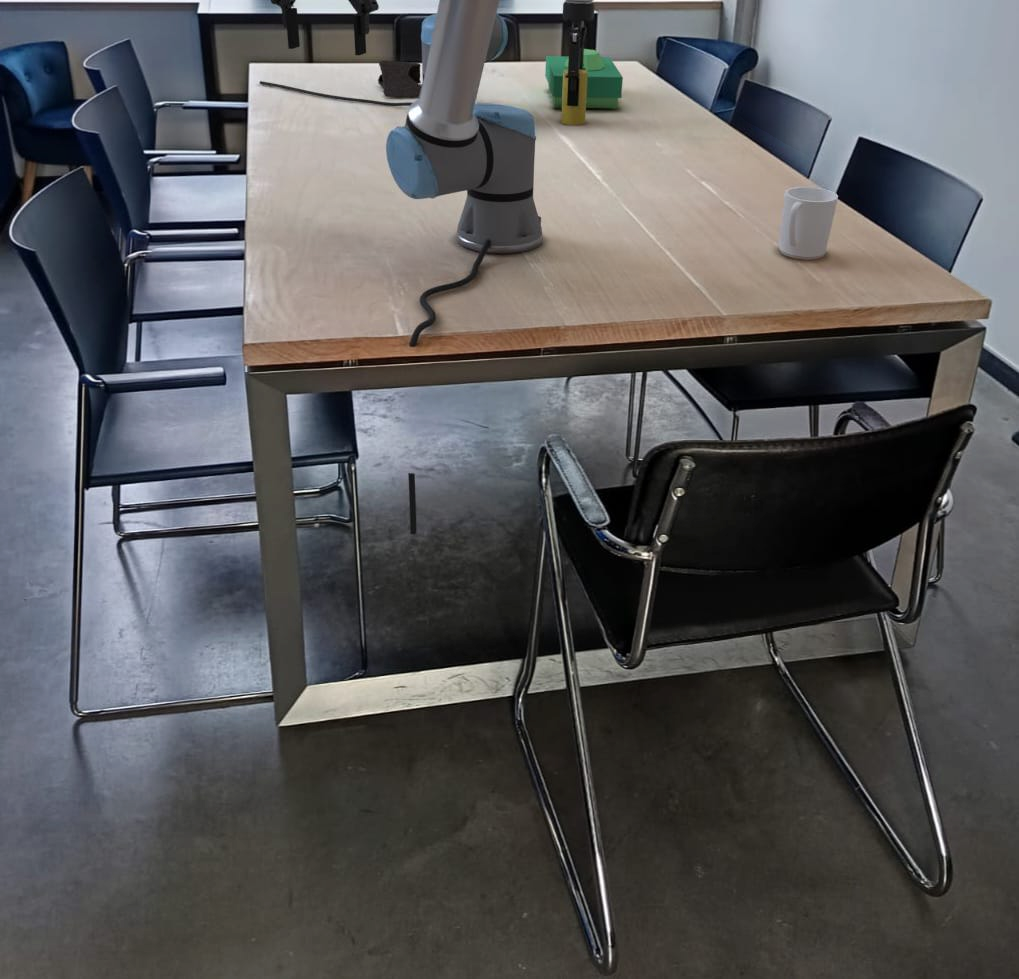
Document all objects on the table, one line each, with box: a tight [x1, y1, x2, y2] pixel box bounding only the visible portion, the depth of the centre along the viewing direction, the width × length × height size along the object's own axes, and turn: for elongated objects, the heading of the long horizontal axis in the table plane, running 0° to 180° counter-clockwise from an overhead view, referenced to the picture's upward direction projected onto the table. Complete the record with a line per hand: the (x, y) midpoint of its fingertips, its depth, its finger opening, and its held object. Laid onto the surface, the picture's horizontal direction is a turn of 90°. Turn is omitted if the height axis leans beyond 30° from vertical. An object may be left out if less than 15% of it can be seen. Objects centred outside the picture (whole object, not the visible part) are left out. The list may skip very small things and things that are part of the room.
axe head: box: [377, 59, 422, 99], centre depth 299 cm, size 18×8×15 cm
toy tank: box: [544, 48, 624, 109], centre depth 295 cm, size 18×12×35 cm
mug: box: [778, 186, 839, 261], centre depth 190 cm, size 11×9×10 cm
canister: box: [560, 69, 588, 126], centre depth 270 cm, size 6×6×12 cm
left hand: (574, 102), depth 271 cm, fingers closed on canister, 6 cm apart
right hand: (327, 51), depth 197 cm, fingers open, 13 cm apart
